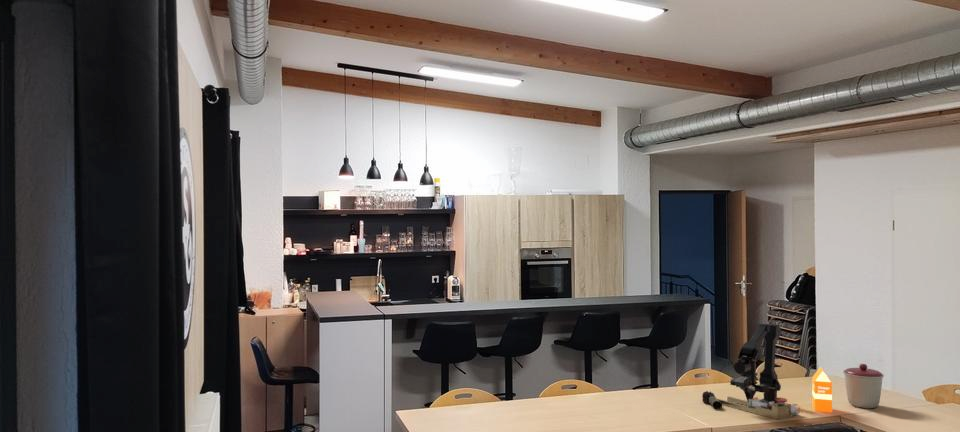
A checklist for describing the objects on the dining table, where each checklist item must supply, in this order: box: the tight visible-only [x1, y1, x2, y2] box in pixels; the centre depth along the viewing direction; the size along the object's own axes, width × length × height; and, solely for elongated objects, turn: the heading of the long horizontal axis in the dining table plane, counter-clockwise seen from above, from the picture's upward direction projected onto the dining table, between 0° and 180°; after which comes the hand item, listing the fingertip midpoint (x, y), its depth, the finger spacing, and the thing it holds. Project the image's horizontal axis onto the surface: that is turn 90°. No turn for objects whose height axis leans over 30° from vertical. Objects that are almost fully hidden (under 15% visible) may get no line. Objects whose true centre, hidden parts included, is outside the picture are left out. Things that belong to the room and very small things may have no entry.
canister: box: [842, 363, 885, 409], centre depth 342 cm, size 18×18×21 cm
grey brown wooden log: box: [701, 390, 723, 410], centre depth 344 cm, size 18×7×6 cm, turn 176°
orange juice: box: [811, 366, 833, 413], centre depth 335 cm, size 8×9×20 cm
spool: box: [748, 396, 775, 410], centre depth 330 cm, size 6×10×6 cm, turn 34°
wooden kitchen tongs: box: [717, 396, 801, 421], centre depth 335 cm, size 16×36×9 cm, turn 31°
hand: (749, 402), depth 336 cm, fingers closed
